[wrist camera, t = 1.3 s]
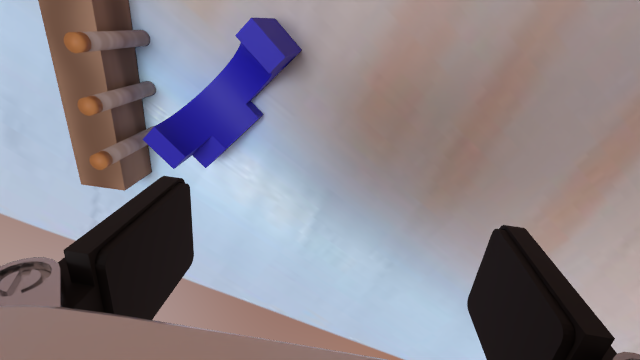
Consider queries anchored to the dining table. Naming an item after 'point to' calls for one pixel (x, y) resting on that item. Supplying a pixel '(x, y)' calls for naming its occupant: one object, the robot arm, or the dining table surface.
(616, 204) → the dining table surface
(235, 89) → the blue curved cradle
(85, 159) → the peg rack
